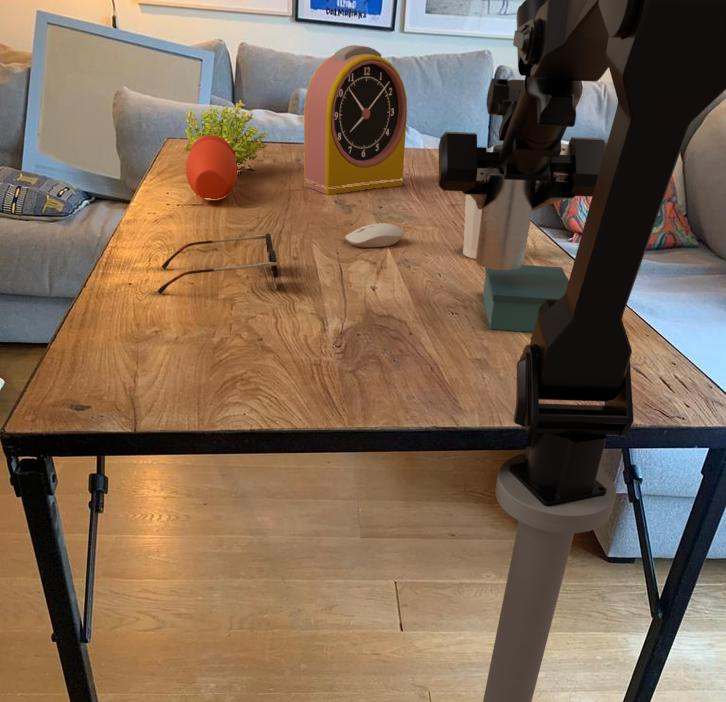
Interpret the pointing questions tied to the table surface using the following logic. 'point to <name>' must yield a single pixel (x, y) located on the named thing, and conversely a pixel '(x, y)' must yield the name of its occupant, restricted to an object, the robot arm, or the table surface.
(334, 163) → the alarm clock
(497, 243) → the flask
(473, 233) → the cup
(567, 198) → the robot arm
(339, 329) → the table surface
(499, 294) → the lidded box
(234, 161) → the potted plant
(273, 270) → the sunglasses
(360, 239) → the computer mouse
